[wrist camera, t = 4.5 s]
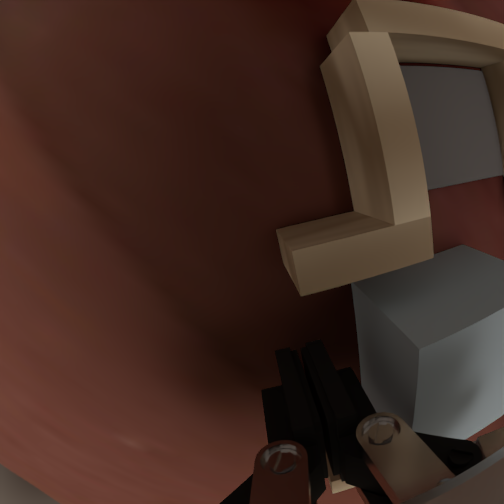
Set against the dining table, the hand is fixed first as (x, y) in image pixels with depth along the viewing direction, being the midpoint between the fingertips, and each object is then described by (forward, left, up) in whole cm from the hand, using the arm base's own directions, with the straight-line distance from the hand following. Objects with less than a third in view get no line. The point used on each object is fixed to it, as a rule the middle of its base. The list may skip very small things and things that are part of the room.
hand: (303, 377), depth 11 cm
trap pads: (-8, +14, -1) cm, 16 cm away
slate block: (0, +5, -1) cm, 5 cm away
